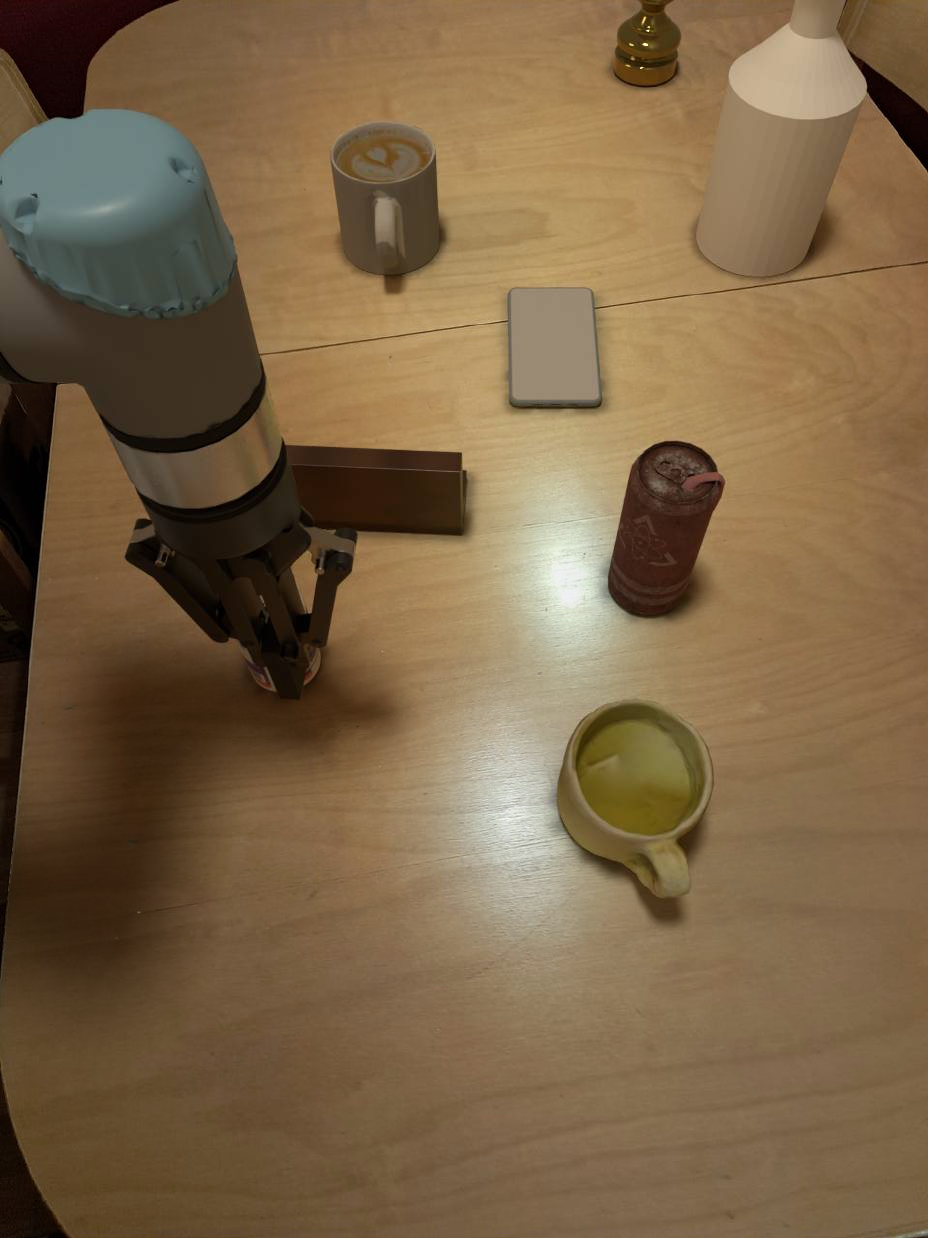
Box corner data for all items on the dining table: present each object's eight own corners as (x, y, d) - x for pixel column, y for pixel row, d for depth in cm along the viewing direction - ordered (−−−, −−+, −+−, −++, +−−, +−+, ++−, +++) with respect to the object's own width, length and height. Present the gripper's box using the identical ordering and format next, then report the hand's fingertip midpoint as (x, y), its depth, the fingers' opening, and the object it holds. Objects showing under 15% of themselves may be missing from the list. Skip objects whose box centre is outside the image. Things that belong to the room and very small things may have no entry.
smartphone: (509, 401, 84) (507, 286, 91) (509, 409, 84) (507, 294, 92) (603, 401, 83) (593, 285, 91) (601, 409, 84) (592, 294, 92)
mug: (522, 724, 66) (581, 686, 57) (652, 732, 69) (727, 697, 60) (529, 905, 62) (594, 895, 53) (667, 905, 65) (751, 896, 56)
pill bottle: (324, 633, 72) (302, 554, 64) (318, 693, 69) (294, 619, 61) (255, 634, 73) (224, 556, 64) (245, 695, 69) (212, 621, 61)
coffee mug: (354, 208, 99) (343, 116, 91) (447, 216, 99) (444, 124, 90) (324, 292, 93) (309, 201, 84) (423, 302, 92) (418, 211, 83)
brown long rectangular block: (198, 523, 78) (171, 459, 71) (213, 467, 81) (188, 401, 74) (462, 535, 77) (460, 472, 70) (466, 478, 80) (465, 412, 73)
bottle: (703, 280, 93) (770, 9, 71) (684, 205, 99) (741, -65, 78) (822, 276, 93) (925, 3, 72) (796, 201, 99) (883, -70, 78)
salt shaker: (605, 57, 114) (616, -35, 105) (664, 50, 115) (679, -42, 106) (621, 90, 110) (634, -2, 102) (682, 83, 111) (700, -9, 102)
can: (692, 617, 73) (734, 505, 61) (610, 618, 73) (636, 506, 61) (682, 553, 76) (720, 434, 64) (603, 554, 76) (627, 436, 64)
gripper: (350, 403, 47) (392, 641, 67) (98, 393, 48) (214, 631, 68) (327, 522, 43) (379, 737, 63) (53, 509, 44) (190, 725, 64)
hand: (293, 682), depth 66 cm, fingers closed
